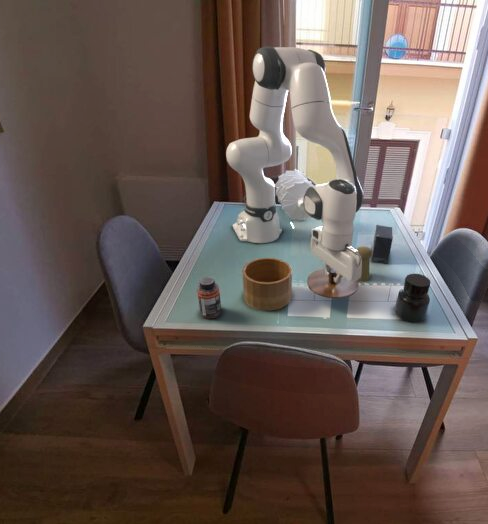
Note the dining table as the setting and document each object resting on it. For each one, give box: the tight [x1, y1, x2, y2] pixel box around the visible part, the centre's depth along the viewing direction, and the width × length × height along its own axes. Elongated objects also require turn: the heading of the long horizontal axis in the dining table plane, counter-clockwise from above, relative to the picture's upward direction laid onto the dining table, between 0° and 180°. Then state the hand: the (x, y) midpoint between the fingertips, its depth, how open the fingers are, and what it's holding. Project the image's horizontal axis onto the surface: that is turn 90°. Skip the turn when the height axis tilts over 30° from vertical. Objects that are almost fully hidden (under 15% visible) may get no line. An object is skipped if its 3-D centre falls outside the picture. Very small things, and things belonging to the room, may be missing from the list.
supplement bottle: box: [196, 276, 222, 319], centre depth 100 cm, size 6×6×11 cm
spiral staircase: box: [274, 168, 315, 221], centre depth 165 cm, size 18×18×25 cm
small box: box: [370, 224, 394, 264], centre depth 133 cm, size 11×6×10 cm, turn 168°
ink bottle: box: [394, 272, 432, 323], centre depth 103 cm, size 10×9×12 cm
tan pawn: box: [356, 245, 372, 282], centre depth 120 cm, size 6×6×11 cm
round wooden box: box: [241, 257, 293, 312], centre depth 108 cm, size 15×15×10 cm
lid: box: [306, 268, 360, 300], centre depth 108 cm, size 16×16×5 cm
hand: (333, 279), depth 109 cm, fingers closed on lid, 2 cm apart
